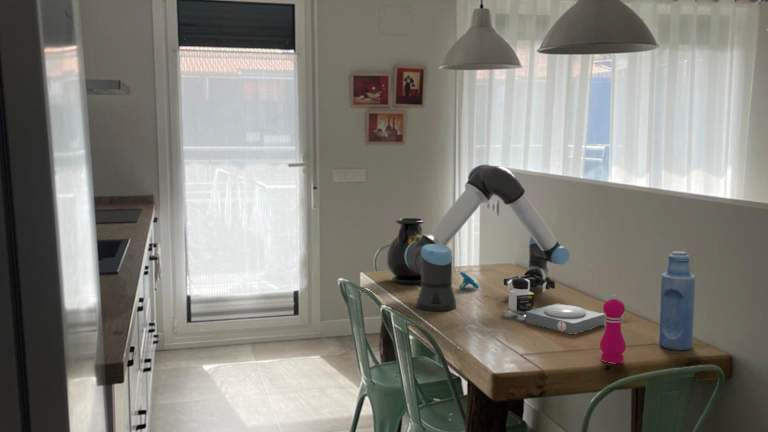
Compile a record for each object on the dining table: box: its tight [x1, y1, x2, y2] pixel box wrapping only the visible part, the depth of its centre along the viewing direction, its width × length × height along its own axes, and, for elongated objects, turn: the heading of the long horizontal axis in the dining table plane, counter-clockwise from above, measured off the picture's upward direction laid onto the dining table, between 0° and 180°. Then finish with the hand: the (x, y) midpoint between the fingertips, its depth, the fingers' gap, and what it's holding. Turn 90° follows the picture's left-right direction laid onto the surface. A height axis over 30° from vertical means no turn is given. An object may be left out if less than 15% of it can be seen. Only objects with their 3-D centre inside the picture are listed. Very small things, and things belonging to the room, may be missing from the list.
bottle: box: [658, 250, 696, 352], centre depth 219 cm, size 10×10×30 cm
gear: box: [459, 271, 480, 290], centre depth 302 cm, size 11×6×10 cm
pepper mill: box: [599, 294, 627, 364], centre depth 206 cm, size 7×7×20 cm
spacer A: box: [502, 309, 518, 320], centre depth 257 cm, size 5×5×2 cm
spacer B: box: [516, 313, 526, 323], centre depth 252 cm, size 5×5×2 cm
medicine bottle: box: [508, 278, 535, 314], centre depth 265 cm, size 7×7×12 cm
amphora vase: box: [385, 217, 426, 286], centre depth 315 cm, size 22×22×28 cm
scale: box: [525, 302, 606, 334], centre depth 246 cm, size 18×20×5 cm
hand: (525, 287), depth 274 cm, fingers open, 13 cm apart
